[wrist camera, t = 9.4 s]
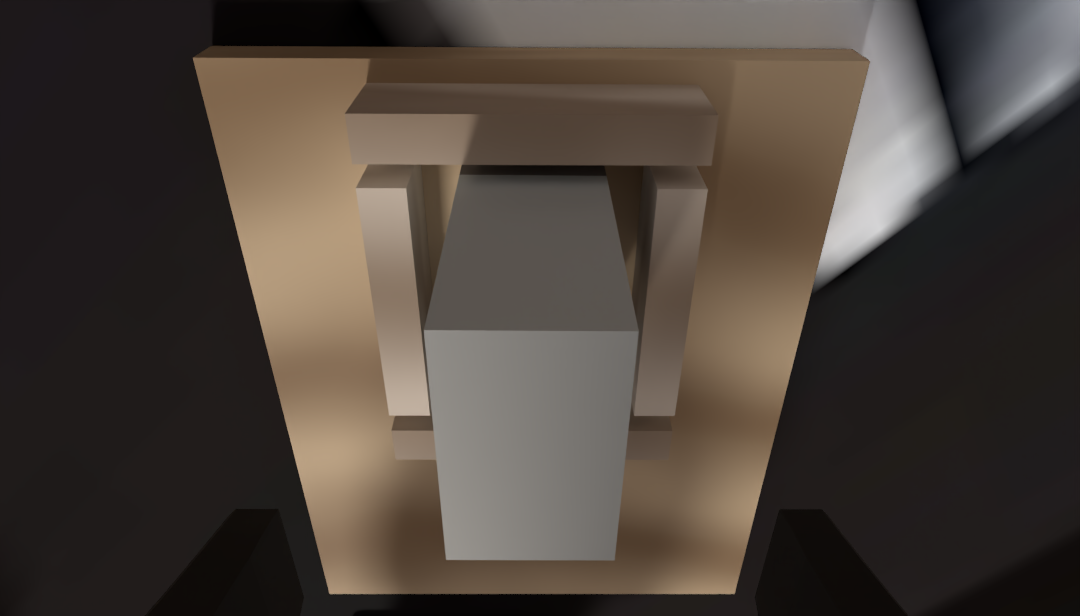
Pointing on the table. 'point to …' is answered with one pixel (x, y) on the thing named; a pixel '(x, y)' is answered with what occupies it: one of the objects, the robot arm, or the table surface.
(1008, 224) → the table surface
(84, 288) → the table surface
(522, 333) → the peg
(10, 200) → the table surface
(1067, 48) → the table surface
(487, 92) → the birch board
